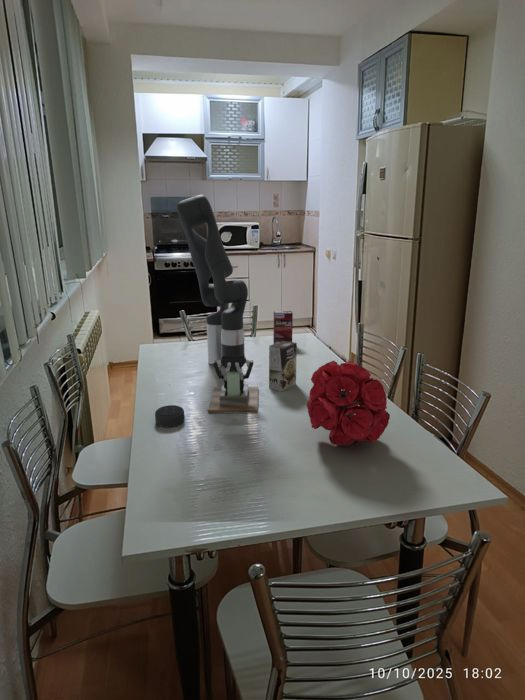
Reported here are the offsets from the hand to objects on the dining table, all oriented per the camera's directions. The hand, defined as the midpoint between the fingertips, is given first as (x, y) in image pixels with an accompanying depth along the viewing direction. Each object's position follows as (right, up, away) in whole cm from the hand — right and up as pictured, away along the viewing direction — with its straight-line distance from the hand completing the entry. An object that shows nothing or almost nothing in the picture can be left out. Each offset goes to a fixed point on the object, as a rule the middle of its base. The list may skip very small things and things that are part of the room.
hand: (234, 389), depth 161 cm
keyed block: (0, -2, +1) cm, 2 cm away
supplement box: (+19, +16, +64) cm, 69 cm away
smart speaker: (-19, -9, -14) cm, 25 cm away
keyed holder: (0, -4, +1) cm, 4 cm away
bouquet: (+33, -12, -24) cm, 42 cm away
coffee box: (+17, 0, +13) cm, 22 cm away
